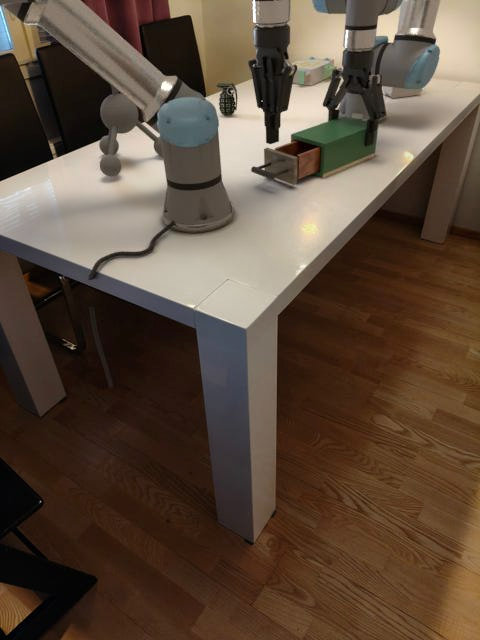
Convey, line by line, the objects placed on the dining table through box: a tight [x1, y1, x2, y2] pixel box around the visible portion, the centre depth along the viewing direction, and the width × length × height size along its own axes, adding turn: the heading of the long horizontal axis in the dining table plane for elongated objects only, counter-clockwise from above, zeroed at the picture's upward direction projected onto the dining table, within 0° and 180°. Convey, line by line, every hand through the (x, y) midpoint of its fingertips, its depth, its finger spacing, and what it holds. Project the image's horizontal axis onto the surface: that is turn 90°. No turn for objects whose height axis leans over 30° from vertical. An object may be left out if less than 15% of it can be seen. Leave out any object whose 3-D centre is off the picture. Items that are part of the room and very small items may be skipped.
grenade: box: [215, 82, 238, 117], centre depth 166 cm, size 7×6×10 cm
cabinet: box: [290, 116, 379, 179], centre depth 128 cm, size 21×12×8 cm, turn 131°
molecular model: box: [98, 84, 163, 178], centre depth 128 cm, size 24×22×30 cm
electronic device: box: [382, 0, 423, 99], centre depth 171 cm, size 12×8×30 cm, turn 105°
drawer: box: [250, 140, 322, 186], centre depth 121 cm, size 25×10×6 cm, turn 131°
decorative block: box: [290, 56, 338, 86], centre depth 205 cm, size 26×6×20 cm
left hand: (272, 142), depth 113 cm, fingers closed
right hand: (350, 140), depth 131 cm, fingers open, 11 cm apart
